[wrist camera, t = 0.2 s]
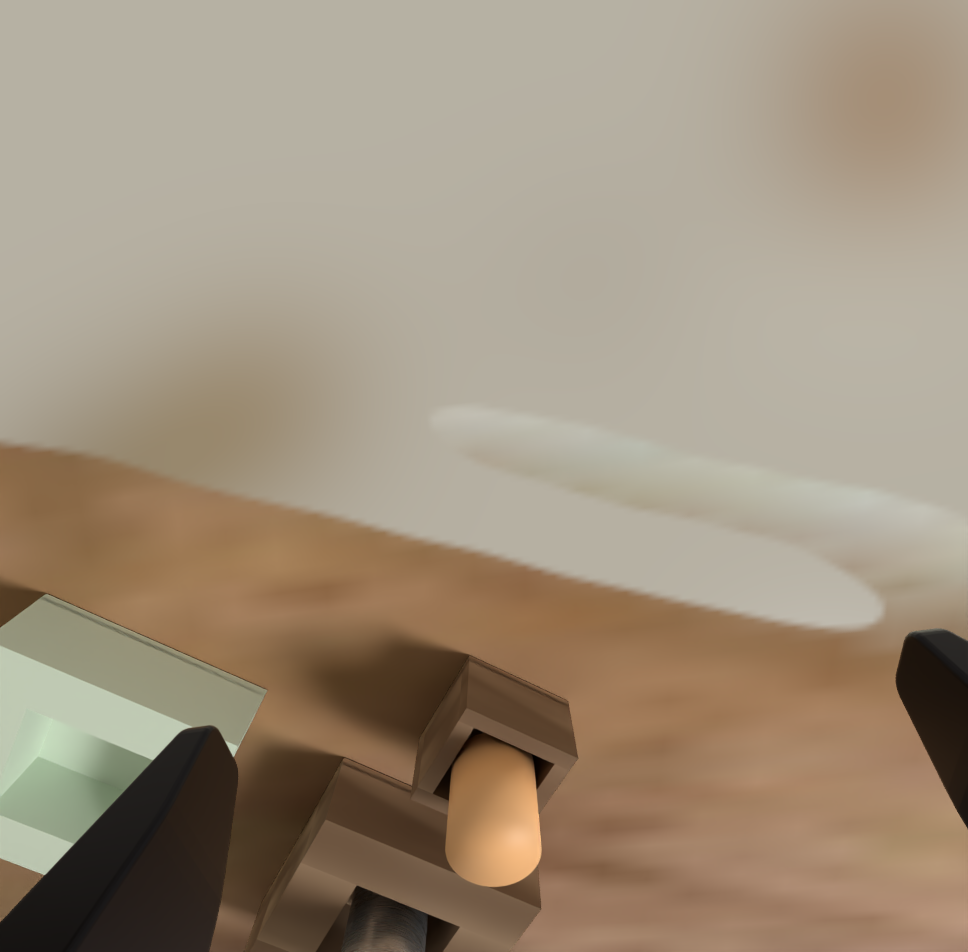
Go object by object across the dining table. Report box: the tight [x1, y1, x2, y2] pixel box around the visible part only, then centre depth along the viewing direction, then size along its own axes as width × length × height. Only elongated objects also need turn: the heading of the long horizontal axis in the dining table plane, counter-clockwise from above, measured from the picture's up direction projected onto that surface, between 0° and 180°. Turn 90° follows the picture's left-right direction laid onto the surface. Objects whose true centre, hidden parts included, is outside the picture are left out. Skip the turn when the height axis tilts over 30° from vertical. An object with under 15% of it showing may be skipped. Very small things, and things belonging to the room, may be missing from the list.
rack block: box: [0, 594, 267, 875], centre depth 25 cm, size 9×9×3 cm
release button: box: [445, 733, 542, 887], centre depth 23 cm, size 3×3×4 cm
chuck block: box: [244, 758, 541, 952], centre depth 28 cm, size 9×9×3 cm
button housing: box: [410, 655, 578, 815], centre depth 25 cm, size 4×4×3 cm
